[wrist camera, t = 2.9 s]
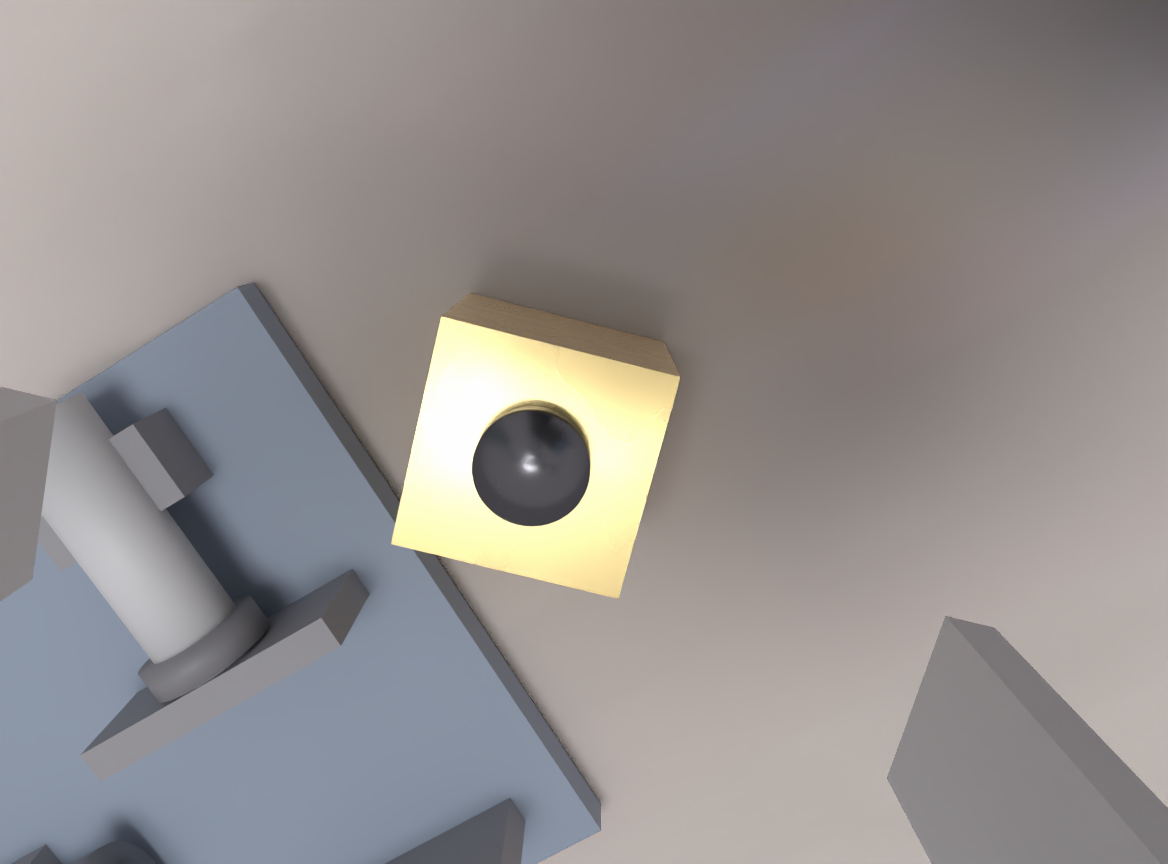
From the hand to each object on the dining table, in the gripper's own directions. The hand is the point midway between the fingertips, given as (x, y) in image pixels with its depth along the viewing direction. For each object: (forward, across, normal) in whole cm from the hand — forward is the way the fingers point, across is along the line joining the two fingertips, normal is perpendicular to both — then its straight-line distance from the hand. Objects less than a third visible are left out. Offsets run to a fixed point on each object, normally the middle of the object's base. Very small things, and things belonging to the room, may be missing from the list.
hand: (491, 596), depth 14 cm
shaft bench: (+12, -7, -10) cm, 17 cm away
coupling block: (+12, 0, 0) cm, 12 cm away
